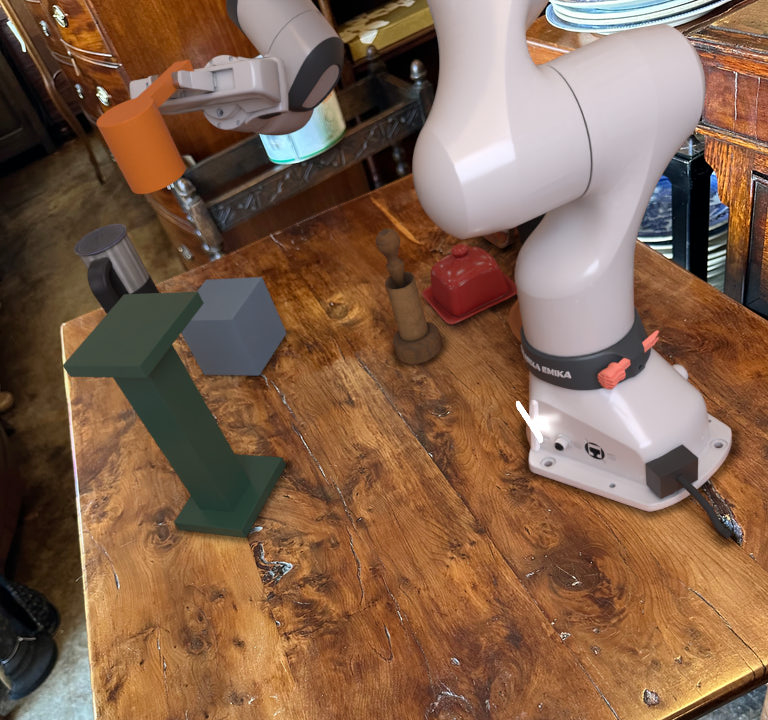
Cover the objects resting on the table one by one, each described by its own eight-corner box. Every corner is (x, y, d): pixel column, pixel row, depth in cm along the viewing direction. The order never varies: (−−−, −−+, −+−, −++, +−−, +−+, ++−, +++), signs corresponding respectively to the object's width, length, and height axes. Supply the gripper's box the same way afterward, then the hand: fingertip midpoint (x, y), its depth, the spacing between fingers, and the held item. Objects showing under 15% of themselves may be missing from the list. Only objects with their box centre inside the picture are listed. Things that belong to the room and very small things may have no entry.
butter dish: (419, 298, 117) (405, 247, 111) (489, 266, 118) (478, 213, 112) (450, 334, 109) (437, 281, 103) (525, 299, 110) (516, 245, 104)
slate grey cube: (232, 333, 125) (206, 279, 118) (286, 333, 121) (262, 276, 114) (203, 375, 119) (173, 320, 112) (259, 375, 115) (231, 319, 108)
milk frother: (117, 312, 140) (72, 238, 130) (199, 277, 141) (160, 200, 130) (123, 353, 130) (74, 275, 120) (211, 315, 131) (170, 234, 120)
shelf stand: (222, 460, 104) (123, 294, 86) (286, 465, 100) (198, 291, 82) (178, 530, 98) (61, 365, 79) (246, 538, 93) (139, 366, 75)
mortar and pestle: (438, 362, 106) (405, 242, 93) (392, 366, 108) (354, 250, 95) (445, 331, 110) (414, 213, 97) (401, 336, 112) (365, 221, 99)
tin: (462, 223, 128) (452, 174, 122) (479, 215, 129) (469, 165, 123) (510, 257, 118) (501, 205, 112) (528, 248, 118) (520, 195, 112)
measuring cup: (187, 127, 103) (158, 63, 98) (231, 120, 100) (204, 54, 95) (121, 196, 94) (84, 130, 88) (167, 191, 91) (133, 122, 85)
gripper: (166, 78, 109) (93, 64, 97) (294, 55, 100) (231, 36, 89) (173, 129, 111) (103, 121, 99) (299, 110, 102) (238, 99, 91)
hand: (164, 81), depth 94 cm, fingers closed on measuring cup, 2 cm apart
